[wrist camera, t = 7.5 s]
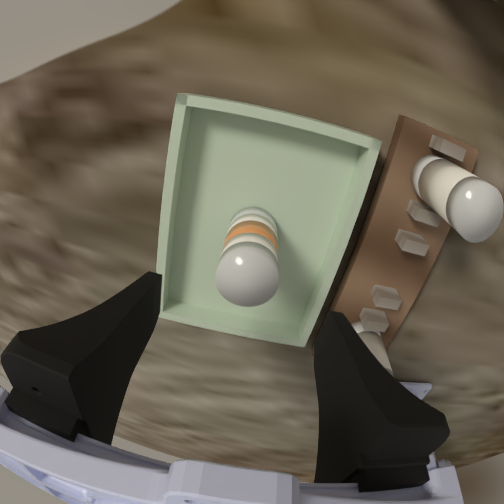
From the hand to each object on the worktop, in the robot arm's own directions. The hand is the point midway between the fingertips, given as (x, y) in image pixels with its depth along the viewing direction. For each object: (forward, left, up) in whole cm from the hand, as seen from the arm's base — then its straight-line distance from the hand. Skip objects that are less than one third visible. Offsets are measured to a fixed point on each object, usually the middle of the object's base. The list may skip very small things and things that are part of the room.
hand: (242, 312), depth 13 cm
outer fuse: (+7, -10, -8) cm, 14 cm away
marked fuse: (0, 0, -8) cm, 8 cm away
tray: (0, 0, -9) cm, 9 cm away
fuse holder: (0, -10, -9) cm, 13 cm away
